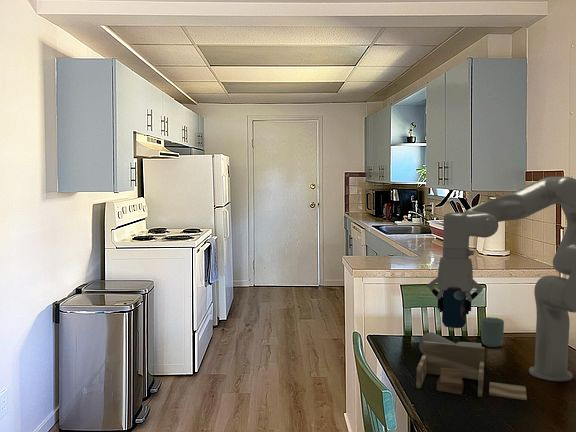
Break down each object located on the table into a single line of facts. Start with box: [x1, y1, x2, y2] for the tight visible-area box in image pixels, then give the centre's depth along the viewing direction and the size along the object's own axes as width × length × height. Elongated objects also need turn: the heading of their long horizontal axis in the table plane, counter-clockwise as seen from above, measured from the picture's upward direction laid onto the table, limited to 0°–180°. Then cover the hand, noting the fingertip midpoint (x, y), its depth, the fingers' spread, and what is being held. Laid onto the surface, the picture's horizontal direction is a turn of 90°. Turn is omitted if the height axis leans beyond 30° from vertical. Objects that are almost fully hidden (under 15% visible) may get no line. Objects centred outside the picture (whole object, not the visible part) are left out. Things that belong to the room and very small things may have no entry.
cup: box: [480, 316, 505, 348], centre depth 217 cm, size 8×8×10 cm
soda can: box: [441, 288, 467, 329], centre depth 176 cm, size 7×7×12 cm
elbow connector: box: [418, 331, 483, 354], centre depth 196 cm, size 18×10×20 cm
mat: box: [488, 381, 528, 401], centre depth 169 cm, size 10×10×1 cm
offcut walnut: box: [436, 376, 465, 395], centre depth 170 cm, size 4×7×3 cm, turn 66°
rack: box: [415, 341, 486, 398], centre depth 175 cm, size 16×18×10 cm
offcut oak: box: [439, 368, 463, 384], centre depth 170 cm, size 4×6×3 cm, turn 75°
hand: (454, 312), depth 176 cm, fingers closed on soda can, 7 cm apart
